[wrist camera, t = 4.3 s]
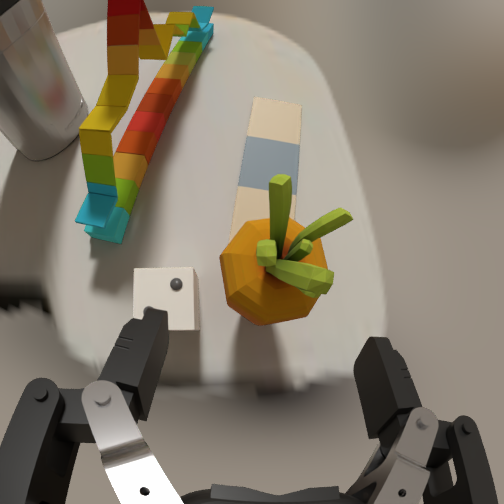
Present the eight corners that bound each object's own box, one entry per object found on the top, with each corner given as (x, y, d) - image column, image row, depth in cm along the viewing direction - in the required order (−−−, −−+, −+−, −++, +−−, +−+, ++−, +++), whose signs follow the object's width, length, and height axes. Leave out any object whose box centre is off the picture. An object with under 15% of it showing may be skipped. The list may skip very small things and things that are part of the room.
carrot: (229, 259, 23) (237, 141, 9) (290, 273, 23) (383, 181, 9) (214, 321, 22) (193, 298, 8) (278, 335, 22) (371, 334, 8)
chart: (190, 32, 31) (188, -59, 17) (213, 34, 32) (216, -59, 17) (90, 237, 23) (-16, 140, 9) (122, 245, 23) (22, 140, 9)
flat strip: (227, 248, 24) (227, 247, 23) (254, 98, 28) (254, 96, 28) (290, 257, 24) (290, 257, 24) (301, 106, 28) (301, 105, 28)
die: (148, 330, 21) (133, 329, 17) (148, 279, 22) (133, 268, 18) (199, 330, 22) (194, 329, 18) (198, 278, 23) (193, 266, 19)
